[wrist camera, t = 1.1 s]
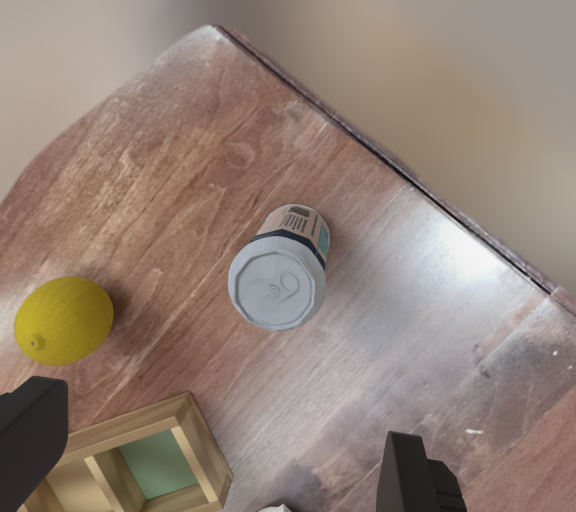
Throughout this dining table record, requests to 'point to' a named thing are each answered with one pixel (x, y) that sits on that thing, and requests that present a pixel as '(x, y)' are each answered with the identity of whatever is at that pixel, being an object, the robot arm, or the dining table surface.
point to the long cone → (276, 509)
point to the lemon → (63, 321)
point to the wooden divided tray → (139, 465)
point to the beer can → (282, 270)
